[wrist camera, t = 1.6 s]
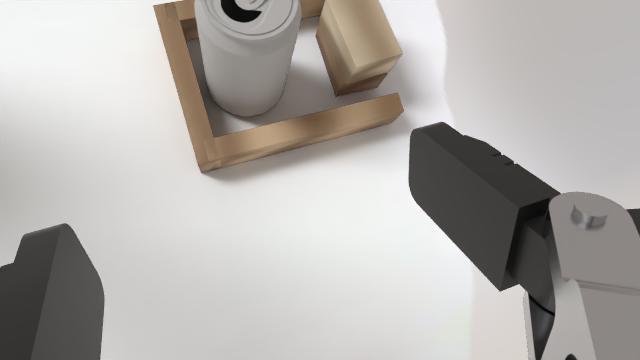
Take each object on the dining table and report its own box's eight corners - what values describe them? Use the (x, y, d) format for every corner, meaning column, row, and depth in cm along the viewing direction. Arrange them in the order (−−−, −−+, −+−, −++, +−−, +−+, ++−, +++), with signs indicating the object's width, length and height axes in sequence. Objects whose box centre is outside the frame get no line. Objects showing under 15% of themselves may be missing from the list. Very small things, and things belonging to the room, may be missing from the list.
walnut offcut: (335, 98, 37) (343, 83, 34) (315, 37, 38) (321, 17, 35) (376, 88, 38) (387, 73, 35) (355, 29, 39) (365, 10, 36)
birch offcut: (346, 84, 34) (356, 67, 32) (319, 20, 35) (326, -2, 32) (389, 71, 35) (402, 53, 33) (361, 9, 36) (372, -14, 33)
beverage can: (190, 86, 35) (166, -6, 23) (240, 35, 37) (241, -74, 25) (251, 134, 35) (258, 67, 23) (298, 81, 37) (326, -7, 25)
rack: (201, 173, 33) (197, 163, 31) (160, 27, 35) (153, 5, 33) (391, 123, 37) (404, 110, 35) (344, -6, 39) (353, -28, 36)
